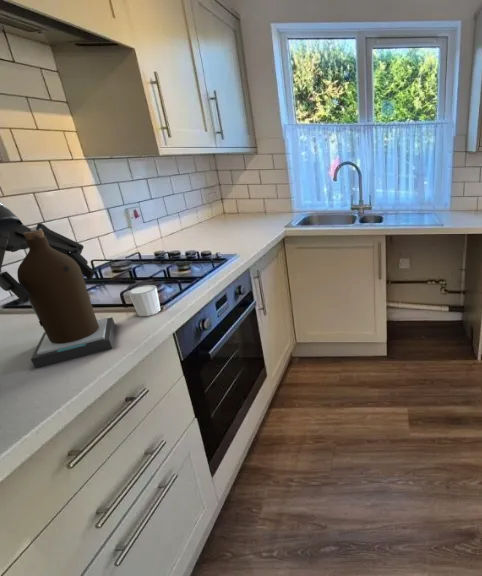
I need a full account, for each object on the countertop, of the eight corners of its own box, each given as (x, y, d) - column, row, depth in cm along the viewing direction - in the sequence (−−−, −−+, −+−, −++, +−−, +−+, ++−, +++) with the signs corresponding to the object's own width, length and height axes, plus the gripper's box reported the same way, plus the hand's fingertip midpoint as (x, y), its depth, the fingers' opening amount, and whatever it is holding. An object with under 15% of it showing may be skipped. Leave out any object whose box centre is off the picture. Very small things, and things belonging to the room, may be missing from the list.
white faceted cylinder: (147, 318, 100) (139, 295, 97) (129, 315, 102) (121, 292, 99) (168, 308, 106) (162, 286, 103) (151, 305, 108) (144, 283, 105)
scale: (35, 368, 79) (29, 356, 78) (47, 340, 90) (42, 330, 89) (112, 348, 86) (108, 337, 85) (115, 325, 97) (111, 315, 96)
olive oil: (108, 319, 93) (73, 224, 83) (93, 340, 84) (51, 234, 74) (58, 327, 90) (15, 228, 80) (36, 349, 80) (-15, 240, 71)
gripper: (-93, 216, 67) (-5, 299, 68) (54, 196, 89) (119, 259, 90) (-94, 242, 70) (-10, 320, 72) (48, 216, 92) (110, 277, 94)
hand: (62, 286), depth 81 cm, fingers open, 13 cm apart
